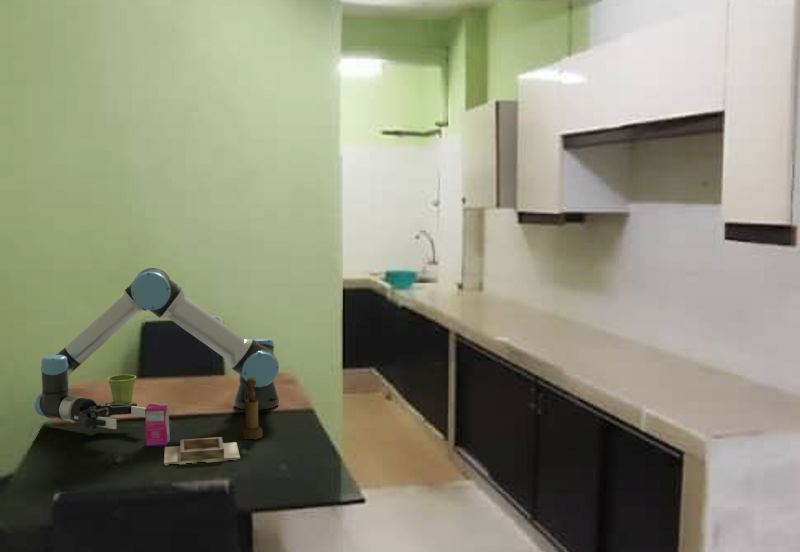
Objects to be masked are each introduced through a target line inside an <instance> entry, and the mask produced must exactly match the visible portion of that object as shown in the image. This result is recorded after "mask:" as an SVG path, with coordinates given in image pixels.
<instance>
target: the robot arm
mask: <svg viewBox="0 0 800 552" xmlns="http://www.w3.org/2000/svg"><path fill="white" fill-rule="evenodd" d="M146 311H149V312H150V313H152V314H154V315H155V316H157V317H158V318H159V319H163V318H168V319H169V320H171V321H172V322H173V323H175V324H176V325H177V326H179V327H181V328H182V329H183V330H184V331H186V332H187V333H189V334H190V335H192V336H193V337H195V338H196V339H197V340H199V342H201V343H203V344H204V345H206V346H207V347H209V348H210V349H211V350H212V351H214V352H215V353H217V354H219V356H221V357H223V358H224V359H225V360H227V361H228V362H229V363H228V365H229V368H230V369H231V370H233V371H235V372H236V374H238V375H239V384H238V388H237V390H236V394H235V396H234V397H235V398H234V407H235V406H236V407H237V409H239V408H240V410H243V409H245V400H248V399H249V397H248V392H249V388H248V387H247V385H246V381H247V379H248V378H254V379H255V380H256V386H255V387H254V392H255V397H254V399H256V400H258V411H264V410H263V409H266V410H270V409H269V408H271V409H274V408H276V407H275V406H277V405H278V404H279V405H280V397H279V394H278V392H277V388H276V385H275V380H276V378H277V377H278V374H279V370H280V368H279V367H280V364H279V361H278V359H277V357H276V356H275V352H274V349H275V343H274V340H273V339H270V338H243V337H242V336H241V335H240V334H238V333H237V332H235V331H234V330H233V329H231V328H230V327H229V326H227V325H226V324H224V323H223V322H222V321H220V320H219V319H217V318H216V317H214V316H213V315H212V314H211V313H209V312H208V311H206V310H205V309H204V308H202V307H201V306H199V305H198V304H197V303H195V302H194V301H193V300H191V299H190V298H188V297H187V296H185V293H184V288H183V287H181V286H180V285H178V284H177V283H176V282H174V281H173V280H172V279H170V276H169V275H168V274H167V272H165V271H164V270H162V269H161V268H156V267H148V268H145V269H143V270H141V271H140V272H139V273H138V274H137V276H136V277H134V280H133V281H132V282H131V283H130V284H129V286H127V287H126V288H125V289H124V293H123V295H122V296H121V297H120V298H119V299H117V300H116V301H115V302H114V303H113V304H112V305H111V306H109V308H107V309H106V310H104V312H103V313H102V314H101V315H99V316H98V317H97V318H96V319H95V320H94V321H93V322H91V323H90V324H89V325H88V326H86V328H85V329H84V330H83V331H81V332H80V333H79V334H78V335H77V336H76V337H75V338H73V340H71V341H70V342H69V343H68V344H67V345H65V347H63V349H61V350H60V351H59V352H58V353H56V354H51V355H47V356H43V357H42V359H41V367H40V371H41V388H42V392H41V393H40V394H39V395H38V396H37V397H36V400H35V402H34V411H35V412H36V413H37V414H38V415H39V416H41V417H45V418H48V419H55V420H62V421H69V422H70V423H72V424H73V423H77V424H80V425H82V426H83V427H85V428H87V429H89V428H91V427H92V428H91V429H92V430H96V429H97V428H98V427H99V428H104V429H105V428H106V429H112V430H116V429H118V428H117V427H118V426H117V419H116V418H111V417H112V416H116V415H117V416H118V415H131V416H134V417H142V418H145V409H146V407H143V406H138V403H135V402H132V403H123V404H116V403H113V402H112V403H111V402H106V403H104V404H103V405H102V404H97V403H96V401H94V400H93V399H91V398H86V397H80V396H73V395H69V377H70V375H71V374H72V373H73V372H74V371H76V370H77V369H78V368H79V367H80V366H81V365H82V364H83V363H85V361H86V360H88V358H90V357H91V356H92V355H93V354H94V353H95V352H97V351H98V349H100V348H101V347H102V346H103V345H104V344H105V343H107V341H109V340H110V339H111V338H112V337H114V335H116V334H117V333H118V332H119V331H121V329H122V328H124V327H125V326H126V325H127V324H128V323H129V322H131V320H133V319H134V318H135V317H136V316H137V315H138V314H140V313H141V312H146ZM279 405H278V406H279ZM278 406H277V407H278ZM236 407H235V408H236ZM273 407H274V408H273Z"/></svg>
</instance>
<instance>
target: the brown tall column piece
mask: <svg viewBox="0 0 800 552" xmlns="http://www.w3.org/2000/svg"><path fill="white" fill-rule="evenodd" d="M246 385H247V387H248V388H249V392H248V397H249V399H248V400H245V410H244V426H243V427H242V428H241V429H240V438H241V439H242V438H244V439H243V440H247V439H254V440H257V439H256V438H260V437H262V436H264V433H263V432H264V431H263V428H262V427H261V426H260V425H259V410H258V400H256V399H254V397H255V392H254V387H255V386H256V380H255V379H254V378H248V379H247V381H246ZM262 438H263V437H262ZM260 439H261V438H260Z"/></svg>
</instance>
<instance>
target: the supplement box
mask: <svg viewBox="0 0 800 552" xmlns="http://www.w3.org/2000/svg"><path fill="white" fill-rule="evenodd" d="M145 408H146V409H145V417H144V418H145V421H144V422H145V439H146V448H165V447H168V445H169V443H170V441H171V439H170V438H171V436H170V418H169V417H170V415H169V412H170V410H169V403H168V402H166V403H149V404H148V405H147V406H146V407H145Z"/></svg>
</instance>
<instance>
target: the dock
mask: <svg viewBox="0 0 800 552" xmlns="http://www.w3.org/2000/svg"><path fill="white" fill-rule="evenodd" d="M179 441H180V442H179V443H180V445H177V446H166V447H164V457H163V458H164V459H163V464H164V465H165V466H170V465H169V464H179V465H187V464H186V463H192V464H198V463H197V462H206V463H217V462H229V461H228V460H233V461H238V460H237V459H240V460H241V456H240V452H239V447H238V442H235V441H233V442H223V441H224V440H223V437H222V436H219V437H218V436H217V437H204V438H202V437H201V438H189V439H188V438H187V439H185V438H184V439H180V440H179Z"/></svg>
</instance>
